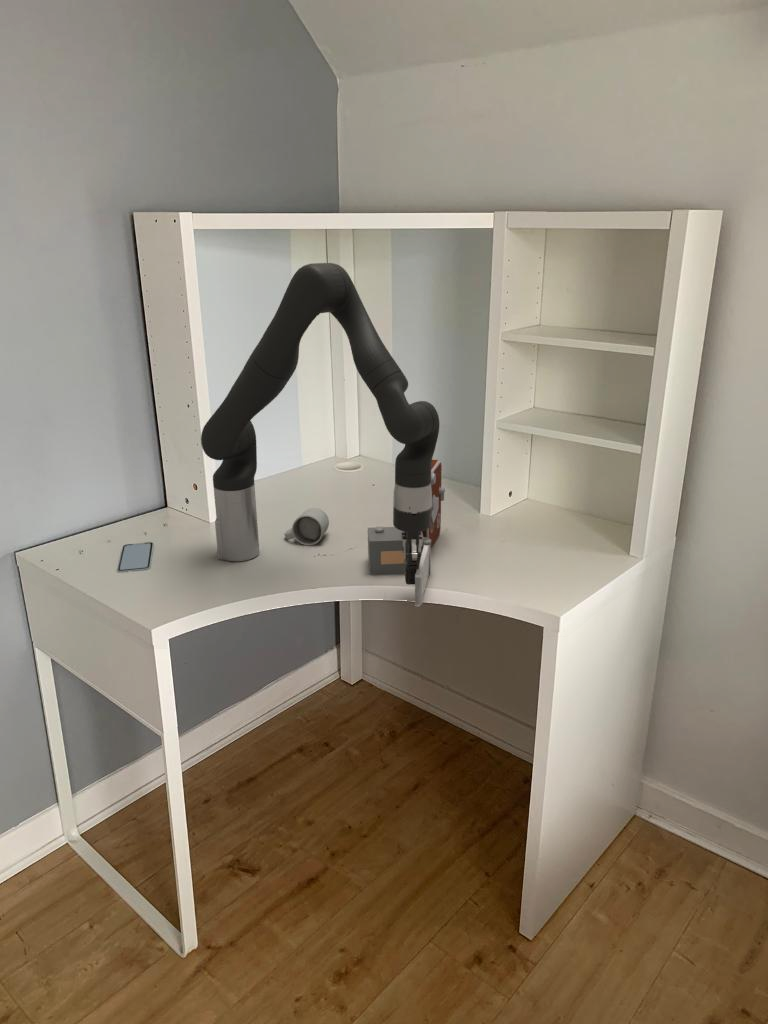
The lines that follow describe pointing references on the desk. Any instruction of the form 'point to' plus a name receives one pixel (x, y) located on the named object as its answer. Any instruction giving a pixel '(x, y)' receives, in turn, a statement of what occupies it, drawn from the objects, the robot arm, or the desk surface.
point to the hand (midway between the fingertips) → (410, 582)
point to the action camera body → (387, 550)
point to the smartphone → (136, 557)
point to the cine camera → (435, 502)
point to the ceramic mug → (309, 527)
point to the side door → (422, 574)
